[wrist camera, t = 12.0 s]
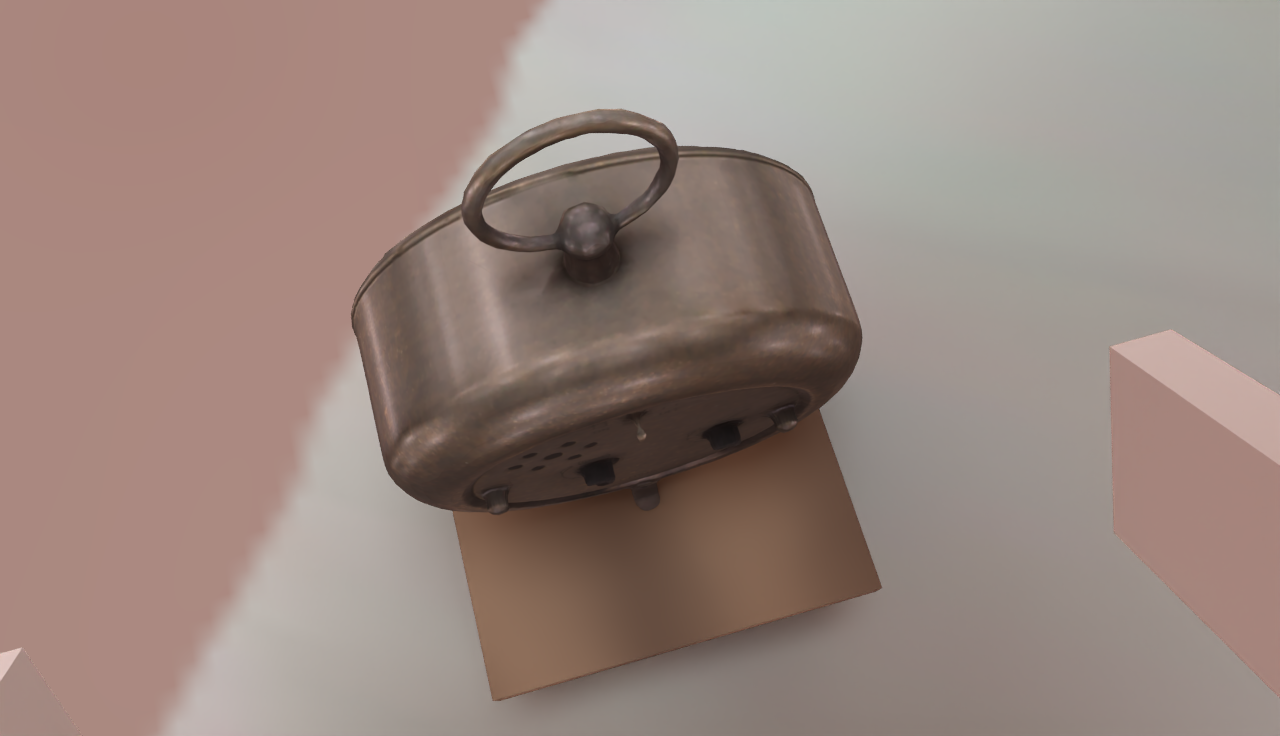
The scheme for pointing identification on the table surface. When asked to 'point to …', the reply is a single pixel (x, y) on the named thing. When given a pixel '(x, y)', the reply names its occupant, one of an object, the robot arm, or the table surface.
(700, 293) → the alarm clock
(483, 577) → the walnut stand
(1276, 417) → the robot arm
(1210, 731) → the table surface
